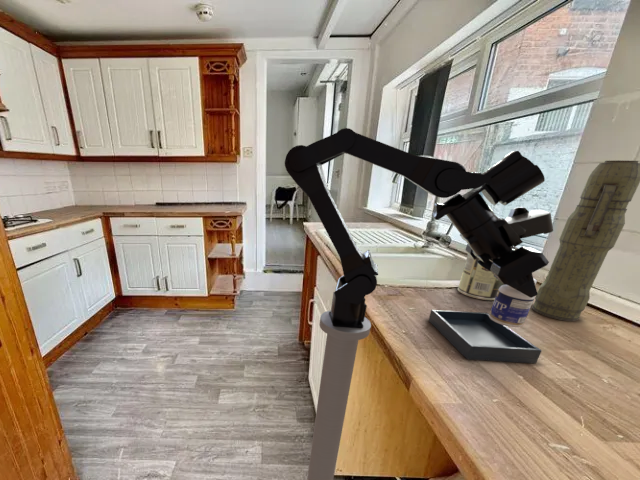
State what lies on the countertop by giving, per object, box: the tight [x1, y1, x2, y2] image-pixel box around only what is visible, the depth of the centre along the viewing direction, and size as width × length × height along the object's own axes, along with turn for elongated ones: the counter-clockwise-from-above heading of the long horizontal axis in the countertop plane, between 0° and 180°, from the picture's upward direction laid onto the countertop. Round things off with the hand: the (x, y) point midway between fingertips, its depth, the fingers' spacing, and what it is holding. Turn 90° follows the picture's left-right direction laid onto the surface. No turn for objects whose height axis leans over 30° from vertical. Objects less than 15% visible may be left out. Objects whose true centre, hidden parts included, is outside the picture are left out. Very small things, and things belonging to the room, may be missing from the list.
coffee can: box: [457, 246, 519, 301], centre depth 84 cm, size 10×10×14 cm
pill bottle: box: [488, 277, 537, 328], centre depth 56 cm, size 5×5×9 cm
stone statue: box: [531, 160, 640, 322], centre depth 70 cm, size 9×12×35 cm
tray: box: [428, 309, 543, 364], centre depth 62 cm, size 12×15×3 cm
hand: (526, 290), depth 55 cm, fingers closed on pill bottle, 5 cm apart
